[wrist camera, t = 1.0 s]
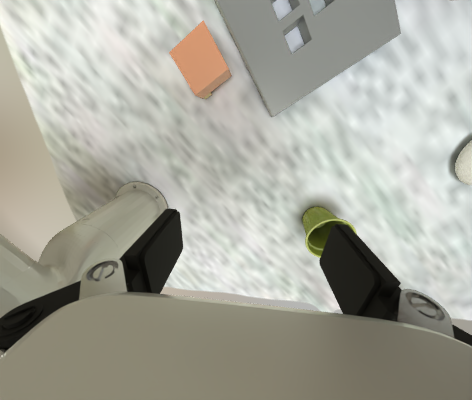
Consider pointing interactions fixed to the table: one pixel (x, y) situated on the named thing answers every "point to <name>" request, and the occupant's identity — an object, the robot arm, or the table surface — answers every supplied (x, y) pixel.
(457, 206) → the table surface
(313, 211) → the plant pot
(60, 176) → the table surface
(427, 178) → the table surface
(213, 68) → the plug
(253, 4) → the socket
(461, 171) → the flower in vase
